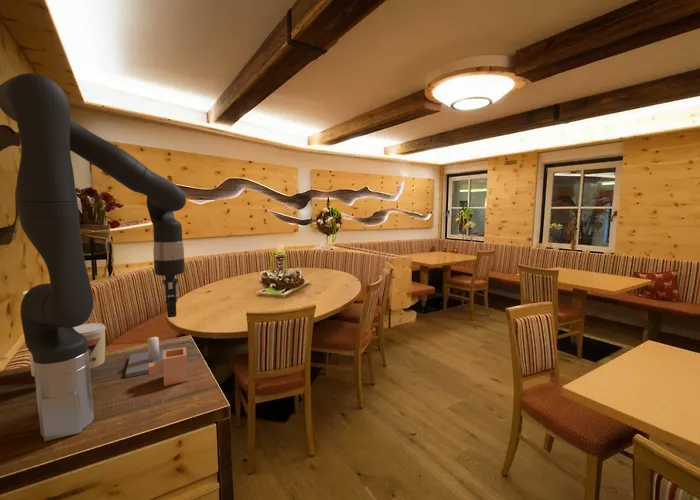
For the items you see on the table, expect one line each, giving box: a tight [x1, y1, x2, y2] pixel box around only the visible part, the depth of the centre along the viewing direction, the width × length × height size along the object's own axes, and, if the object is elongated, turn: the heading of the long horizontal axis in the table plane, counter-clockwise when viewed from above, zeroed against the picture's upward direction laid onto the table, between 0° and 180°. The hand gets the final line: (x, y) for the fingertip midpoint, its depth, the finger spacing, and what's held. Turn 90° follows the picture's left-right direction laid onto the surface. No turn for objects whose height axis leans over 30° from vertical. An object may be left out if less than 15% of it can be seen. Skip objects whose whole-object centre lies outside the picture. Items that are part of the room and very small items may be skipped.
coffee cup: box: [73, 322, 106, 369], centre depth 101 cm, size 9×9×12 cm
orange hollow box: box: [148, 346, 189, 387], centre depth 93 cm, size 6×10×8 cm, turn 119°
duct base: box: [124, 336, 179, 378], centre depth 104 cm, size 14×14×8 cm
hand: (171, 312), depth 93 cm, fingers open, 8 cm apart
